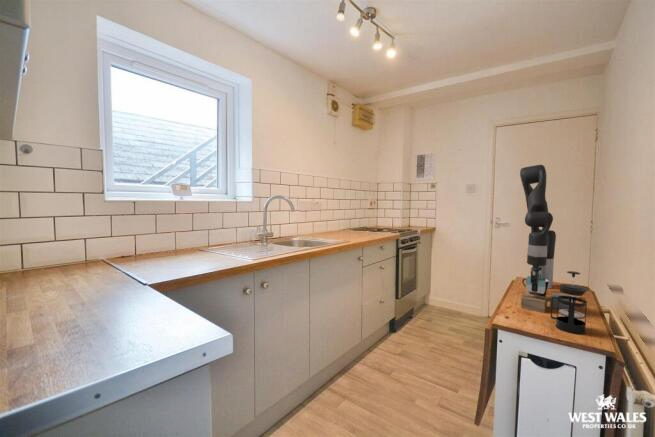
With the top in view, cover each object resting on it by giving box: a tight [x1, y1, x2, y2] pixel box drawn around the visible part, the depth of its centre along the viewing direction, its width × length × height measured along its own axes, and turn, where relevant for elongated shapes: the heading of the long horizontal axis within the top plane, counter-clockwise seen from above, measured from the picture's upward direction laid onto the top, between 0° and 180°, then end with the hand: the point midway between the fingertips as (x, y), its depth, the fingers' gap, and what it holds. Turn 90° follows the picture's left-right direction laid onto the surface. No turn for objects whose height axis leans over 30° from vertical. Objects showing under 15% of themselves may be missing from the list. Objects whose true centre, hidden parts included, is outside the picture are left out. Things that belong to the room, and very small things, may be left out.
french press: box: [550, 270, 589, 335], centre depth 118 cm, size 12×9×23 cm
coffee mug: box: [521, 278, 549, 297], centre depth 156 cm, size 12×9×10 cm
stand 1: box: [520, 292, 549, 313], centre depth 142 cm, size 9×9×5 cm
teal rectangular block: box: [525, 275, 546, 294], centre depth 141 cm, size 5×7×6 cm
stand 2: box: [549, 292, 577, 310], centre depth 142 cm, size 9×9×5 cm
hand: (535, 290), depth 141 cm, fingers closed on teal rectangular block, 5 cm apart
